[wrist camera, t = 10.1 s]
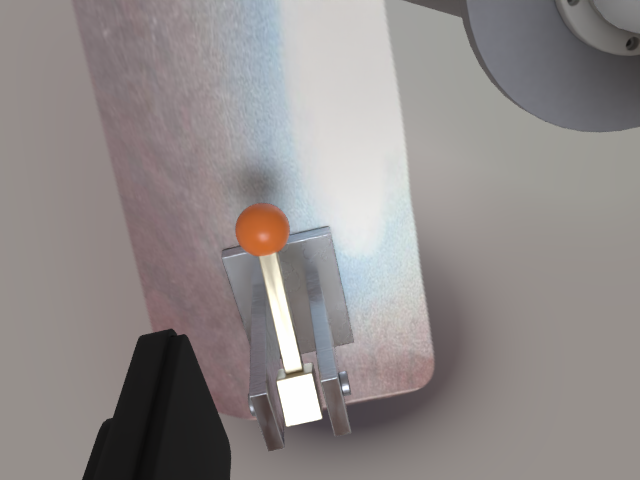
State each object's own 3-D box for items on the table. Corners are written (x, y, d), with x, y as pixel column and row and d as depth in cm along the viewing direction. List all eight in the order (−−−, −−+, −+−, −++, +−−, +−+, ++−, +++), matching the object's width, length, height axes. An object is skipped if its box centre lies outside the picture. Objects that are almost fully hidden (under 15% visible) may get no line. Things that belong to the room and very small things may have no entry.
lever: (234, 210, 34) (225, 208, 31) (284, 199, 34) (281, 196, 31) (280, 413, 35) (276, 432, 31) (330, 401, 35) (331, 420, 31)
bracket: (222, 250, 40) (207, 364, 29) (329, 226, 40) (356, 331, 29) (256, 354, 45) (255, 488, 34) (352, 333, 45) (383, 460, 34)
